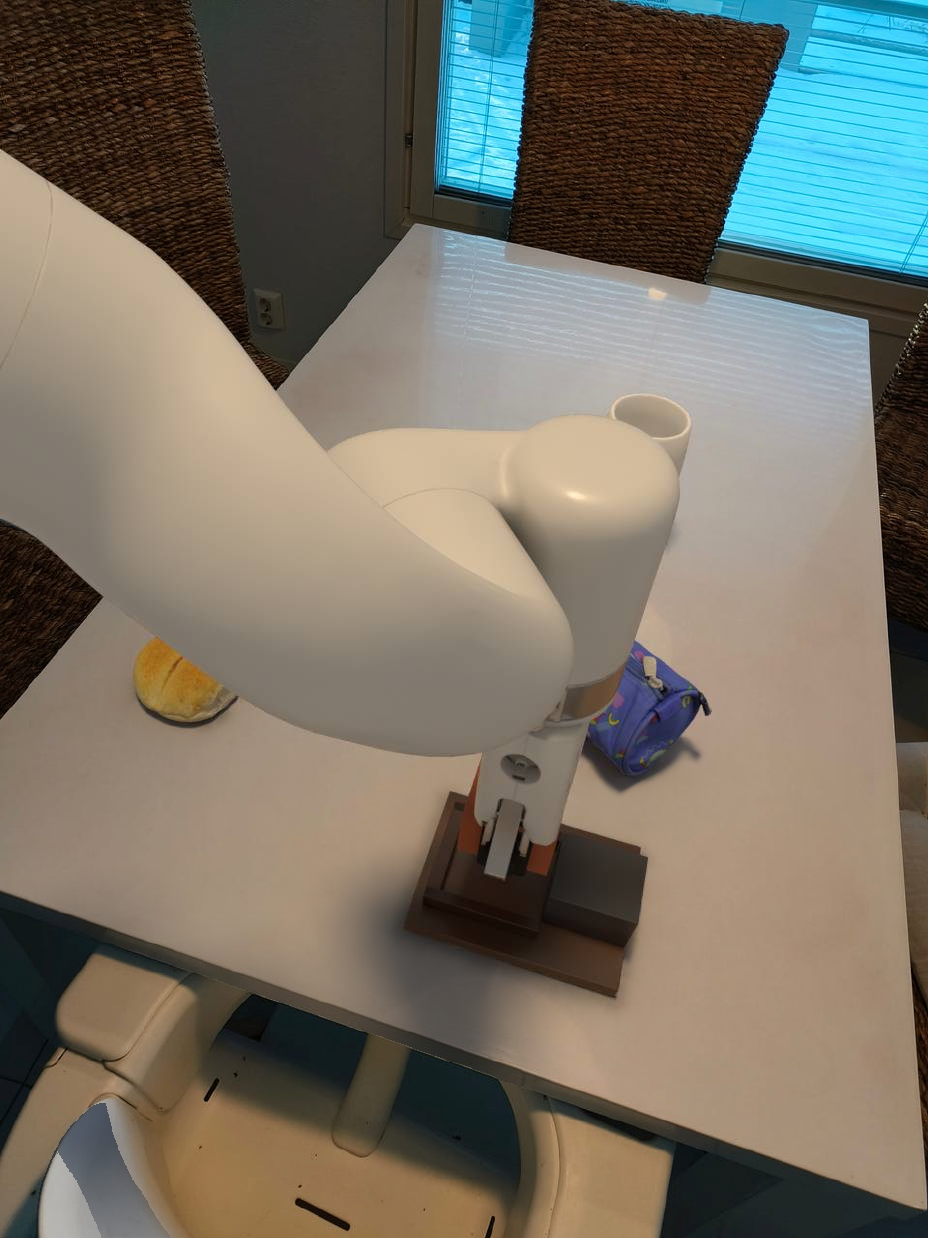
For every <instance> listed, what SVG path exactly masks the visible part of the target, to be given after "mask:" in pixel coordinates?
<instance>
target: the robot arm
mask: <svg viewBox="0 0 928 1238" xmlns="http://www.w3.org/2000/svg"><path fill="white" fill-rule="evenodd" d="M680 484H681V483H680V476H679V477H678V473H677V470H676V467H675V465H674V463H673V461H672V459H671V457H670V456H669V454H668V453H667V451H666V450H665V449H664V448H663V447H662V446H661V445H660V444H659V443H658V442H657V441H656V440H654V439H653V438H652V437H651V436H649V435H648V434H647V433H645V432H643V431H642V430H640V429H638V428H637V427H634V426H632V425H630V424H628V423H625V422H623V421H620V420H616V419H613V418H609V417H607V416H604V415H598V414H588V413H587V414H586V413H585V414H584V413H583V414H582V413H580V414H579V413H577V414H576V413H575V414H566V415H560V416H556V417H552V418H551V417H550V418H547V419H544V420H542V421H539V422H537V423H535V424H533V425H532V426H530V427H528V428H525V429H522V430H521V429H518V430H514V429H513V430H512V429H511V430H509V429H508V430H490V429H489V430H488V429H487V430H486V429H454V428H434V427H432V428H431V427H397V428H396V427H395V428H385V429H378V430H372V431H368V432H365V433H362V434H358V435H354V436H352V437H349V438H347V439H344V440H343V441H340V442H338V443H336V444H335V445H334V446H332V447H331V448H329V449H328V450H327V451H326V450H325V449H324V448H323V447H322V446H321V445H320V444H319V442H318V441H317V440H316V439H315V438H314V437H313V436H312V435H311V433H310V432H309V431H308V430H307V428H306V427H305V426H304V425H303V424H302V422H301V421H300V420H299V419H298V418H297V416H295V414H294V412H292V411H291V409H290V408H289V406H288V405H286V403H285V402H284V400H283V399H282V397H281V396H280V395H279V394H278V392H277V391H276V389H274V387H273V386H272V385H271V383H270V382H269V381H268V379H267V378H266V377H265V375H264V374H263V373H262V372H261V370H260V369H259V367H258V366H257V365H256V364H255V361H253V359H252V358H251V357H250V355H249V354H248V353H247V351H246V350H245V349H244V347H243V346H242V345H241V343H240V342H239V341H238V340H237V338H236V337H235V336H234V334H233V333H232V332H231V331H230V330H229V328H228V327H227V326H226V325H225V324H224V322H223V321H222V320H221V319H220V318H219V316H218V315H216V313H215V312H214V311H213V310H212V309H211V307H210V306H209V305H207V303H206V302H205V301H204V300H203V298H202V297H201V296H200V295H199V294H198V293H197V292H196V291H195V290H194V289H193V288H192V287H191V286H190V285H189V284H188V283H187V282H186V281H185V280H184V279H183V278H182V277H181V276H180V275H179V274H178V273H177V272H176V271H175V270H174V269H173V268H172V267H171V266H170V265H169V264H168V263H167V262H166V261H165V260H163V259H162V257H160V256H159V255H158V254H157V253H156V252H155V251H153V249H151V248H150V247H148V246H147V245H145V244H144V243H142V242H141V241H139V240H138V239H137V238H135V237H134V236H132V235H131V234H130V233H128V232H127V231H125V230H123V229H122V228H120V227H119V226H117V225H115V224H114V223H113V222H111V221H109V220H107V219H106V218H105V217H103V216H102V215H101V214H99V213H97V212H96V211H94V210H93V209H91V208H89V207H88V206H87V205H86V204H83V202H80V201H79V200H78V199H76V198H75V197H73V196H72V195H70V194H68V192H66V191H64V190H63V189H61V188H60V187H58V186H56V185H55V184H54V183H52V182H50V181H49V180H47V179H46V178H45V177H44V176H41V175H40V174H39V173H37V172H36V171H34V170H32V169H31V168H30V167H28V166H27V165H25V164H23V163H22V162H21V161H19V160H18V159H16V158H14V157H13V156H11V155H10V154H9V153H7V152H6V151H4V150H2V149H1V148H0V520H3V521H5V522H7V523H10V524H12V525H14V526H16V527H18V528H20V529H22V530H23V531H25V532H27V533H28V534H29V535H32V536H33V537H35V538H36V539H37V540H38V541H40V542H41V543H42V544H43V545H45V546H46V547H47V548H48V549H50V550H51V551H52V552H53V553H54V554H55V555H57V556H58V558H59V559H60V560H62V561H63V562H64V563H65V564H66V565H67V566H68V567H69V568H70V569H71V570H72V571H74V573H75V574H76V575H78V576H79V577H80V578H81V579H82V580H83V581H85V582H86V583H87V584H88V586H90V587H91V588H92V589H94V591H96V592H97V593H98V594H100V595H101V597H103V598H104V599H105V600H106V601H108V602H109V603H111V604H112V605H113V606H114V607H116V608H117V609H118V610H119V611H121V612H122V613H124V614H125V615H126V616H128V617H129V618H130V619H131V620H133V621H134V622H136V623H137V624H138V625H140V626H141V627H142V628H143V629H145V631H147V632H149V633H150V634H152V635H153V636H155V637H157V638H159V639H160V640H161V641H163V642H164V643H165V644H167V645H168V646H169V647H171V648H172V649H173V650H175V651H176V652H177V653H179V654H180V655H181V656H182V657H184V658H185V659H186V660H188V661H189V662H190V663H192V664H193V665H194V666H196V667H197V668H198V669H200V670H201V671H202V672H204V673H205V674H206V675H208V676H209V677H210V678H212V679H213V680H215V681H216V682H218V683H219V684H221V685H222V686H224V687H225V688H227V689H228V690H229V691H231V692H232V693H234V694H235V695H237V696H236V697H238V698H240V699H242V700H243V701H245V702H247V703H249V704H250V705H252V706H254V707H255V708H258V709H259V710H260V711H262V712H264V713H266V714H268V715H270V716H272V717H274V718H277V719H279V720H280V721H282V722H285V723H287V724H290V725H292V726H294V727H297V728H300V729H303V730H305V731H309V732H311V733H314V734H317V735H321V736H324V737H328V738H332V739H337V740H341V741H344V742H350V743H353V744H357V745H361V746H365V747H366V746H367V747H370V748H373V749H377V750H382V751H387V752H392V753H397V754H403V755H408V756H418V757H426V758H427V757H428V758H454V757H455V758H456V757H463V756H464V757H465V756H473V755H477V754H481V756H480V760H481V762H480V761H479V763H480V769H479V776H478V783H477V790H476V798H475V808H474V815H475V818H476V820H477V822H478V824H479V825H480V826H481V827H482V825H483V823H484V824H486V826H483V828H482V831H481V836H480V842H479V848H478V854H477V859H476V861H477V863H478V864H480V865H483V866H486V867H485V871H484V875H488V876H491V877H494V878H497V879H501V880H504V881H505V878H506V876H511V874H513V875H516V876H520V877H523V876H525V873H526V869H527V865H528V862H529V858H530V854H531V850H532V847H533V843H535V844H539V845H544V846H548V845H550V844H551V843H553V842H554V841H555V840H556V837H557V834H558V831H559V827H560V824H562V822H561V820H562V821H563V817H564V813H565V810H566V806H567V802H568V799H569V795H570V792H571V788H572V786H573V782H574V781H573V780H574V779H575V775H576V771H577V768H578V765H579V761H580V758H581V755H582V752H583V747H584V745H585V740H586V738H587V736H586V734H587V730H588V726H589V722H590V721H591V720H592V719H594V718H596V717H598V716H599V715H600V714H602V713H603V712H604V711H605V710H606V709H607V708H608V707H609V706H610V705H611V704H612V702H613V700H614V698H615V697H616V695H617V692H618V689H619V686H620V683H621V680H622V677H623V674H624V671H625V668H626V665H627V662H628V659H629V656H630V653H631V650H632V647H633V644H634V641H636V637H637V635H638V631H639V628H640V625H641V622H642V619H643V616H644V614H645V610H646V608H647V604H648V601H649V598H650V595H651V592H652V589H653V586H654V583H655V580H656V577H657V575H658V571H659V568H660V565H661V562H662V559H663V556H664V553H665V549H666V548H667V547H666V546H667V544H668V541H669V539H670V535H671V532H672V529H673V526H674V524H675V520H676V515H677V512H678V507H679V503H680V498H681V485H680ZM562 816H563V817H562ZM497 819H498V820H497ZM496 821H497V824H496ZM495 826H496V827H495ZM519 826H521V827H524V830H523V834H522V832H519V831H518V829H519Z"/></svg>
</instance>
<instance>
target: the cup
mask: <svg viewBox="0 0 928 1238" xmlns="http://www.w3.org/2000/svg"><path fill="white" fill-rule="evenodd" d="M606 417H609V418H613V419H616V420H620V421H623V422H625V423H628V424H630V425H632V426H634V427H637V428H638V429H640V430H642V431H643V432H645V433H647V434H648V435H649V436H651V437H652V438H653V439H654V440H656V441H657V442H658V443H659V444H660V445H661V446H662V447H663V448H664V449H665V450H666V451H667V453H668V454H669V456H670V457H671V459H672V461H673V463H674V465H675V467H676V470H677V473H678V477H679V478H680V475H681V473H682V470H683V466H684V462H685V459H686V455H687V451H688V447H689V442H690V436H691V433H692V428H693V421H692V418H691V414H689V413H688V411H686V409H685V408H684V407H682V405H680V404H679V403H677V402H675V401H674V400H671V399H670V398H667V397H664V396H661V395H657V394H651V393H633V394H627V395H623V396H620V397H619V398H617V399H616V400H615V401H613V403H612V404H611V405H610V406H609V410H608V413H607V414H606Z"/></svg>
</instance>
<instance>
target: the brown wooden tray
mask: <svg viewBox="0 0 928 1238" xmlns="http://www.w3.org/2000/svg"><path fill="white" fill-rule="evenodd" d="M468 796H469V795H466V794H461V793H458V792H455V791H452V790H450V791H449V792H448V795H447V797H446V798H447V799H446V801H445V804H444V806H443V810H442V812H441V816H440V817H439V820H438V823H437V827H436V830H435V832H434V834H433V838H432V841H431V844H430V847H429V850H428V852H427V855H426V858H425V861H424V863H423V866H422V870H421V873H420V875H419V878H418V881H417V883H416V887H415V889H414V892H413V895H412V897H411V901H410V904H409V907H408V909H407V911H406V915H405V918H404V920H403V930H404V931H408V932H410V933H413V934H417V935H419V936H423V937H426V938H429V939H432V940H435V941H437V942H438V941H439V942H442V943H444V944H448V945H451V946H454V947H457V948H460V949H463V950H466V951H469V952H472V953H475V954H478V955H482V956H485V957H488V958H492V959H495V960H498V961H501V962H504V963H507V964H510V965H512V966H516V967H519V968H523V969H525V970H528V971H532V972H535V973H538V974H541V975H544V976H548V977H550V978H553V979H557V980H559V981H563V982H566V983H569V984H572V985H575V986H578V987H581V988H585V989H588V990H591V991H594V992H597V993H601V994H604V995H607V996H609V997H616V995H617V993H618V992H619V989H620V983H621V982H620V981H621V975H622V970H623V963H624V958H625V950H626V947H627V945H628V943H629V941H630V940H631V938H632V936H633V935H634V932H635V930H636V929H637V927H638V925H639V922H640V915H641V908H642V902H643V895H644V889H645V882H646V875H647V869H648V863H649V857H648V856H646V855H643V854H641V851H642V847H641V846H638V845H635V844H632V843H628V842H624V841H622V840H617V839H615V838H611V837H609V836H604V835H601V834H598V833H595V832H592V831H587V830H584V829H581V828H577V827H575V826H571V825H567V824H564V823H561V826H560V830H559V834H558V838H557V843H556V847H555V850H554V853H553V856H552V860H551V863H550V866H549V869H548V872H547V875H546V876H545V875H541V874H538V873H535V872H531V871H528V870H526V873H525V876H523V877H520V876H516V875H513V874H511V876H506V878H505V881H504V880H501V879H497V878H494V877H491V876H488V875H484V871H485V867H486V866H483V865H480V864H478V863H477V861H476V859H477V855H475V854H472V853H469V852H465V851H462V850H459V849H457V846H458V838H459V831H460V823H461V817H462V814H463V811H464V808H465V805H466V802H467V799H468Z"/></svg>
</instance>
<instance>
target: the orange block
mask: <svg viewBox="0 0 928 1238" xmlns="http://www.w3.org/2000/svg"><path fill="white" fill-rule="evenodd" d="M480 762H481V759H480V760H479V763H478V766H477V768H476V772H475V775H474V778H473V781H472V784H471V787H470V790H469V794H468V795H467V796H468V799H467V802H466V805H465V808H464V811H463V814H462V817H461V823H460V831H459V838H458V846H457V849H459V850H462V851H465V852H469V853H472V854H475V855H477V854H478V848H479V842H480V836H481V831H482V828H483V826H486V824H484V823H483V825H482V827H481V826H480V825H479V824H478V822H477V820H476V818H475V815H474V808H475V798H476V790H477V783H478V776H479V769H480ZM563 817H564V815H563V816H562V818H563ZM497 820H498V819H497ZM562 821H563V819H562V820H561V824H562ZM496 824H497V821H496ZM561 824H560V826H561ZM495 827H496V826H495ZM523 830H524V827H521V826H519V829H518V831H519V832H522V834H523ZM559 830H560V827H559ZM558 834H559V831H558ZM558 834H557V837H556V840H555V841H554V842H553V843H551V844H550V845H548V846H544V845H539V844H535V843H533V847H532V850H531V854H530V858H529V862H528V865H527V869H526V870H528V871H531V872H535V873H538V874H541V875H545V876H546V875H547V872H548V869H549V866H550V863H551V860H552V856H553V853H554V850H555V847H556V843H557V838H558Z"/></svg>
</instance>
